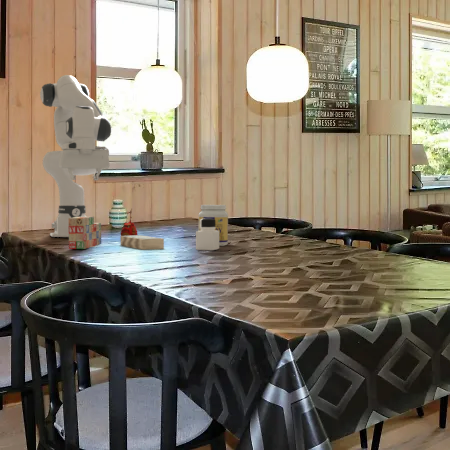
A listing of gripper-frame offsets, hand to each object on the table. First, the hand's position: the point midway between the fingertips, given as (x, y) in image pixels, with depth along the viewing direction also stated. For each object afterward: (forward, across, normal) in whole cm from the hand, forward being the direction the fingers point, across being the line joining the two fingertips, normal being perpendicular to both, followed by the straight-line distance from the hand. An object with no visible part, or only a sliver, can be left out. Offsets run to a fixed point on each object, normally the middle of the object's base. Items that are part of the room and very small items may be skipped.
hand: (84, 180), depth 264 cm
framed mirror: (+27, -19, +14) cm, 36 cm away
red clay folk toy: (+27, -23, -10) cm, 36 cm away
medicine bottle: (+28, -36, +37) cm, 59 cm away
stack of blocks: (+27, 0, 0) cm, 27 cm away
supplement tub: (+28, -47, +22) cm, 59 cm away
